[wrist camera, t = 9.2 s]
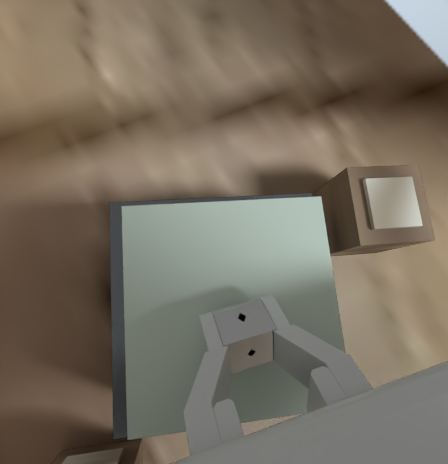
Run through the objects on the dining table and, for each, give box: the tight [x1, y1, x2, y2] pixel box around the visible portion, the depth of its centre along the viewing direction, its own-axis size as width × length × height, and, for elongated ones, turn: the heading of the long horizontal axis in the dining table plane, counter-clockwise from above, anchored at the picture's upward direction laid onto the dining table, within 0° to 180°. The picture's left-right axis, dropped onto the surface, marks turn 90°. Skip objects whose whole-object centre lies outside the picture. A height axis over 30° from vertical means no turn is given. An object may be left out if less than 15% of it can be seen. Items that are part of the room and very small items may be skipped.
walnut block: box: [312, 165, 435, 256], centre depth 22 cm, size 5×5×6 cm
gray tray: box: [109, 193, 313, 439], centre depth 19 cm, size 12×12×6 cm
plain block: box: [122, 196, 345, 440], centre depth 17 cm, size 9×9×8 cm
